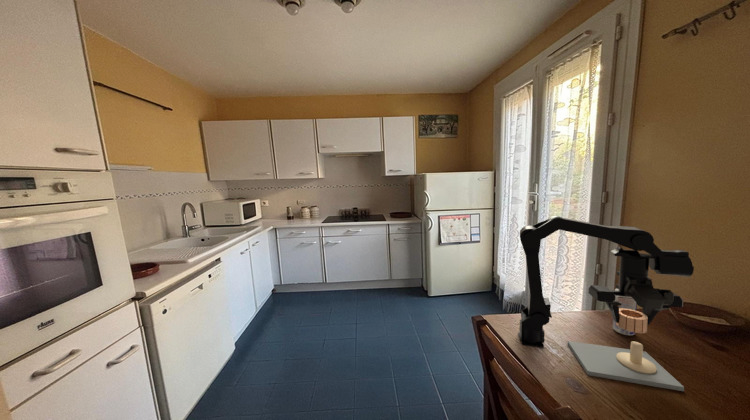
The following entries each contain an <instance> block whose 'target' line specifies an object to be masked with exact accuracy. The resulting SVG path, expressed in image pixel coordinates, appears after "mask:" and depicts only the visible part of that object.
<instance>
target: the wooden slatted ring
mask: <svg viewBox="0 0 750 420" xmlns="http://www.w3.org/2000/svg"><path fill="white" fill-rule="evenodd" d="M647 322H648V316H646V315H645V314H643V312H640V311H639V310H637V309H636V310H632V309H626V308H619V323H616V322H615V324H616V325H617V326H618V327H620V328H622V329H624V330H627V331H630V332H635V334H645V333H648V326H647Z"/></svg>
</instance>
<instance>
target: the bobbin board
mask: <svg viewBox="0 0 750 420" xmlns="http://www.w3.org/2000/svg"><path fill="white" fill-rule="evenodd" d="M567 346H568V347H569V349H570V350H571V352H572V354H573V355H574V356H575V359H577V361H578V362H579V364H580V366H581V367H582V369H583V370H584V372H585V373H586V374H587V376H591V377H596V378H603V379H609V380H615V381H619V382H620V381H621V382H626V383H633V384H638V385H642V386H643V385H645V386H650V387H655V388H660V389H668V390H673V391H678V392H679V391H680V392H685V386H684V385H682V383H681V382H680V381H679V380H677V379H676V378H675V377H674V376H673V375H672V374H671V373H670V372H668V371H667V370H666V369H665V368H664V367H663V366H662V365H661V364H660V363H658V361H656V360H655V359H654V358H653V357H652V356H651V355H650V354H649V353H648V352H646V351H644V345H643V344H642V343H640V342H638V341H630V347H629V348H630V349H629V348H621V347H614V346H609V345H600V344H593V343H586V342H578V341H571V340H567Z"/></svg>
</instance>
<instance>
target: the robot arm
mask: <svg viewBox="0 0 750 420" xmlns="http://www.w3.org/2000/svg"><path fill="white" fill-rule="evenodd" d="M559 230H560V231H565V232H570V233H573V234H577V235H584V236H588V237H593V238H598V239H602V240H606V241H608V242H609V241H610V242H612V243H614V244H616V245H619V246H617V247H616V248H615V249H612V250H610V254H612V255H613V256H615V257H619V270H617V271H616V275H617V276H619V277H618V279H619V280H618V284H615V289H619V291H615V289H612V290H611V289H610V288H609V287H607V286H606V285H593V284H592V285H590V286H589V287H588V294H589V295H590V296H592V297H593V298H594V299H595V300H596V301H599V302H605V304H606V305H607V307H608V309H609V311H610V315H611V316H612V319H613V318H614V320H615V322H616V323H619V307H620V306H621V305H622V304H621V303H619V302H618V298H632V299H634V300H635V302H636V303H637V306H638V307H639V308H642V313H643V314H645V315H646V316H648V322H647V327H648V326H650V324H651V322H652V321H653V320H654V318H655V317H656V316H657V314H658V313H659V312H660V311H663V310H670V309H671V307H672V308H683V307H684V299H683V298H682V297H681V296H680V295H678V294H677V293H674V292H673V291H672V290H670V289H661V288H657V287H656V288H655V287H654V285H653V280H652V279H653V278H651V277H649V269H650V270H652V271H654V272H655V274H657V275H664V276H677V277H687V278H688V277H689V278H690V277H691V276H693V273H694V270H695V269H694V268H695V267H694V265H693V261H692V259H691V258H690V253H689V251H686V250H684V249H683V250H682V249H674V250H672V249H671V250H669V249H668V250H667V249H661V248H660V247H659V246H657V244H656V243H655V239H654V236H653V235H652V234H651V233H650V232H648V231H647V230H644V229H641V228H639V227H636V226H624V225H603V224H598V223H593V222H588V221H582V220H577V219H573V218H572V219H571V218H566V217H563V216H559V215H552V216H551V217H549V218H547V219H545V220H543V221H540V222H537V223H535V224H533V225H526V226H523V227H521V229H520V230H519V239H520V242H521V245H522V250H523V251H524V255H525V262H526V268H527V269H526V270H527V279H528V289H529V294H528V303H527V306H526V307H524V308H523V309H521V310H520V316H521V317H520V318H521V319H519V332H517V334H518V338H519V340H520V343H521V344H522V345H523V346H530V347H531V346H532V347H537V348H545V345H544V343H545V330H544V326H545V325H547V324H549V322H550V318H551V319H552V318H553V316H552V313H551V307H552V306H551V302H550V299H549V297H544V295H543V294H544V293H543V286H542V285H543V284H542V276H541V275H542V274H541V266H540V258H539V254H540V248H541V244H542V243H541V241H542V240H543V239H546V238H547V237H549V236H550V235H552V234H554V233H555V232H557V231H559ZM621 246H622V247H625V248H628V249H623V248H622V247H621ZM642 251H643V252H646V253H642Z"/></svg>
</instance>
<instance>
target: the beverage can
mask: <svg viewBox="0 0 750 420" xmlns="http://www.w3.org/2000/svg"><path fill="white" fill-rule="evenodd" d="M614 290H615V291H619V289H617V288H614ZM618 302H619V303H621V304H622V305H621V306H620V307H619V308H626V309H632V310H636V311H637V306H638V305H637V303H636V302H635V300H634V299H632V298H618ZM612 329H613V330H614V331H615V332H617V334H618V333H619V334H621V335H623V336H634V335H635V334H636V333H635V332H630V331H627V330H624V329H622V328H620V327H618V326H617V325H616V324H615V320H614V318H613V317H612Z"/></svg>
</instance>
